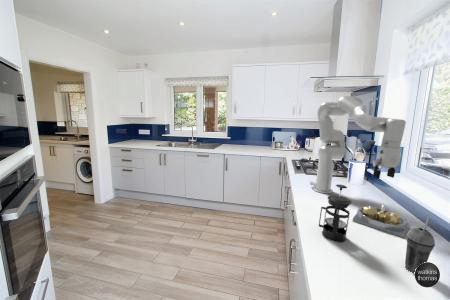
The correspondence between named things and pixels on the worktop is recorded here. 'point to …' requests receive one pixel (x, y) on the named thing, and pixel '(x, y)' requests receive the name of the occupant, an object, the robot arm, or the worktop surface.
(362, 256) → the worktop surface
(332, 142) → the robot arm
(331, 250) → the worktop surface
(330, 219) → the french press
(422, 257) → the beverage cup
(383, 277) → the worktop surface
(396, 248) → the worktop surface
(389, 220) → the gear
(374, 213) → the carrier
